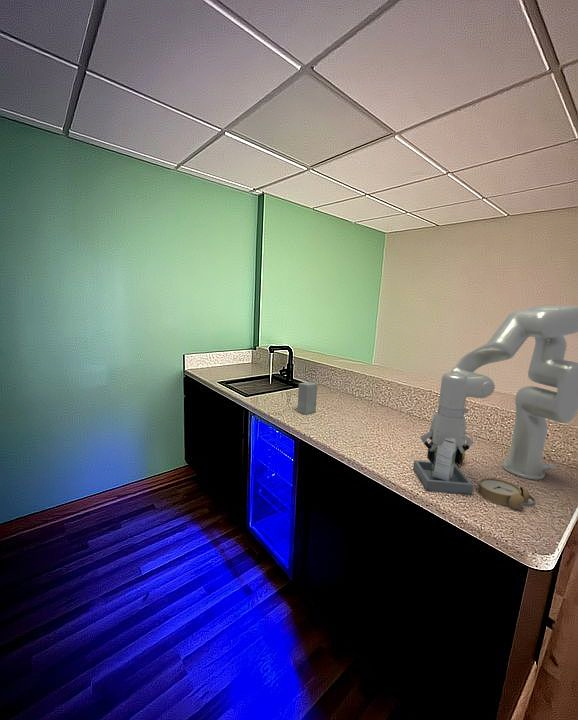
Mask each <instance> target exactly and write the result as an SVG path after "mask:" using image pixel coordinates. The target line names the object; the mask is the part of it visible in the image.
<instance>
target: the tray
mask: <svg viewBox="0 0 578 720" xmlns="http://www.w3.org/2000/svg"><path fill="white" fill-rule="evenodd" d="M412 469H413V471H414V473H415V475H416V477H417V478H418V479H419V482H420V483H421V485H422V487H423V489H424V490H425V491H426V492H431V493H441V494H453V495H462V496H473V492H474V488H475V487H474V484H473V482H472V481H471V480H470V479H469V478H468V477H467V476H466V474H464V472H463V471H462V470H461V469H460V468H459V467H458V465H457V464H455V465H454V471H453V476H452V477H451V479H450V480H449V481H445V480H442V479H439V478H436V477H433V476H431V469H432V463H431V462H430V461H429V460H428V461H427V460H416V459H414V460H413V468H412Z"/></svg>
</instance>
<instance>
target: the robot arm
mask: <svg viewBox="0 0 578 720" xmlns="http://www.w3.org/2000/svg"><path fill="white" fill-rule="evenodd" d="M577 333H578V305H548V304H547V305H546V304H545V305H535V306H532V307H530V308H528V309H517V310H514V311H512V312H510V314H508V315H507V317H506V318H505V320H503V322H502V323H501V325H500V326H499V327H498V328H497V330H496V331H495V332H494V334H492V336H491V338H490V339H489V340H488V341H487V343H485V344H483V345H481V346H479V347H477V348H475V349H473V350H472V351H470V352H468V353H466V354H465V355H464V356H462V357H461V359H459V360H458V361H457V363H456V364H455V366H453V368H452V370H451V371H450V372H447V373H444V374H443V375H442V377H441V383H440V390H439V396H438V397H439V398H438V399H439V400H438V407H437V412H435V413H434V414H433V416H432V420H431V423H430V428H429V431H428V432H426V433H424V434H422V435H420V439H421V441H422V443H423V444H424V445H425V447H426V448H427V456H426V458H427V460H428V461H430V462H431V463H433V462H434V456H435V452H434V449H435V448H436V447H437V446H438V445H442V444H443V442H444V440H445V438H453V439H456V447H457V452H456V458H455V462H456V463H457V464H456V465H457V466H460V465H461V464H462V462H463V461H462V455H463V454H464V453H465V454H466V451H468V450H469V449H470V447H472V446H473V444H474V443H475V441H474V440H473V439H471V438H470V437H469V436H468V435H467V424H466V417H465V414H469V409H468V408H466V407H465V406H466V399H467V398H474V399H475V398H476V399H485V398H488V397H490V396H492V394H493V393H494V391H495V389H496V388H495V385H496V384H495V382H494V380H492V378H490V377H489V376H487V375H484V374H481V373H476V372H475V371H477V370H478V369H479V368H481V367H483V366H485V365H488V364H493V363H499V362H503V361H507V360H510V359H512V358H514V356H515V355H516V354H517V352H518V351H519V350H520V348H521V347H522V346H523V345H524V343H525V342H526V341H527V340H528V338H530V337H532V338H534V340H535V341H534V343H535V344H534V348H533V352H532V356H531V359H530V362H529V367H528V371H527V372H528V373H527V375H528V379H529V380H530V381H531V382H534V383H537V384H539V385H544V386H547V387H551V388H555V389H556V391H554V390H550V389H545V388H542V387H538V386H532V385H531V386H524V387H521V388H519V389H518V391H517V392H516V395H515V398H514V399H515V401H514V403H515V416H514V417H515V418H514V419H515V420H514V424H513V430H512V436H511V442H510V447H509V452H508V453H509V454H508V459H507V460H503V461H502V464H501V466H502V468H503V469H504V470H505V471H507V472H508V473H511V474H512V475H515V476H516V477H520V478H524V479H528V480H535V481H536V480H543V479H544V478H545V472H544V471H546V470H547V471H555V468H556V467H555V465H553V464H546V461H542V459H543V454H544V450H545V445H546V439H547V434H548V424H547V421H546V419H547V420H550V421H553V422H555V423H559V424H566V423H570V422H571V421H573V419H575V417H576V415H577V414H578V362H577V361H572V360H566V359H565V355H566V350H567V340H566V338H565V336H568V335H572V334H577ZM428 440H430V441H429V442H428ZM465 441H466V442H465ZM461 461H462V462H461Z"/></svg>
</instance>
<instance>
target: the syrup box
mask: <svg viewBox="0 0 578 720" xmlns="http://www.w3.org/2000/svg"><path fill="white" fill-rule="evenodd" d="M434 452H435V456H434V462H433V463H432V469H431V476H433V477H436V478H439V479H442V480H445V481H449V480H450V479H451V477H452V476H453V471H454V465H455V458H456V452H457V447H456V439H453V438H445V440H444V442H443V444H442V445H438V446H437V447H436V448H435V449H434Z"/></svg>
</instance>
